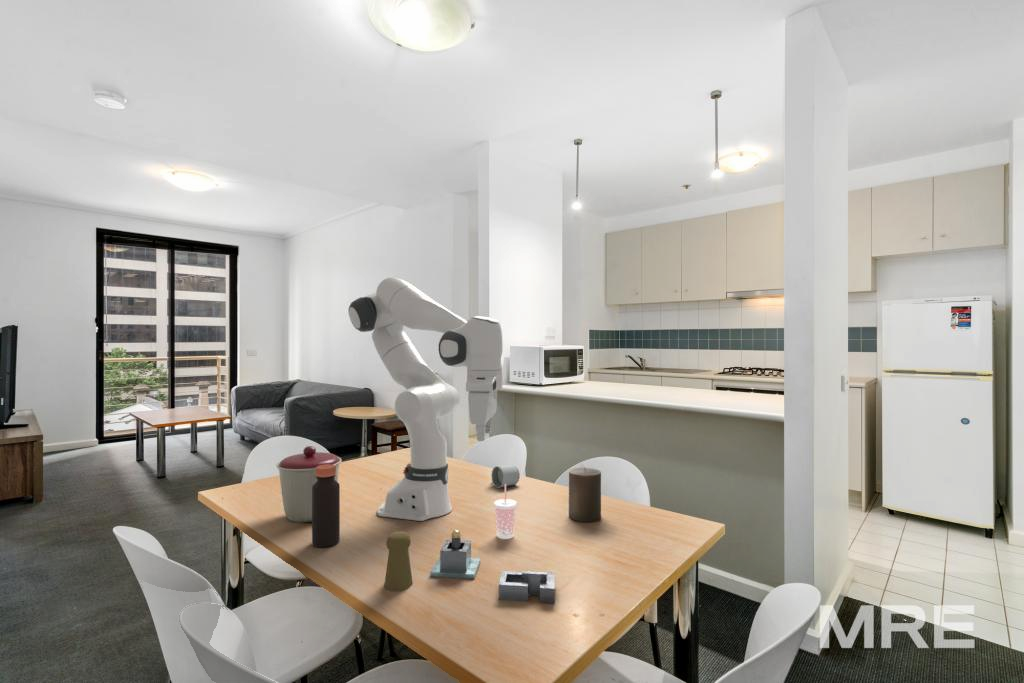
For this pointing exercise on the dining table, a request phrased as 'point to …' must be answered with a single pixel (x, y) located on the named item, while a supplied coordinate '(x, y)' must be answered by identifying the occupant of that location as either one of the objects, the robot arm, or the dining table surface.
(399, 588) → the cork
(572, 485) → the pillar candle
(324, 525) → the bottle
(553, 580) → the chain tail
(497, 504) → the beverage cup
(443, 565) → the end link
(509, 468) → the ceramic mug
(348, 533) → the dining table surface
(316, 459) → the canister
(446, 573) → the grey plate with post
